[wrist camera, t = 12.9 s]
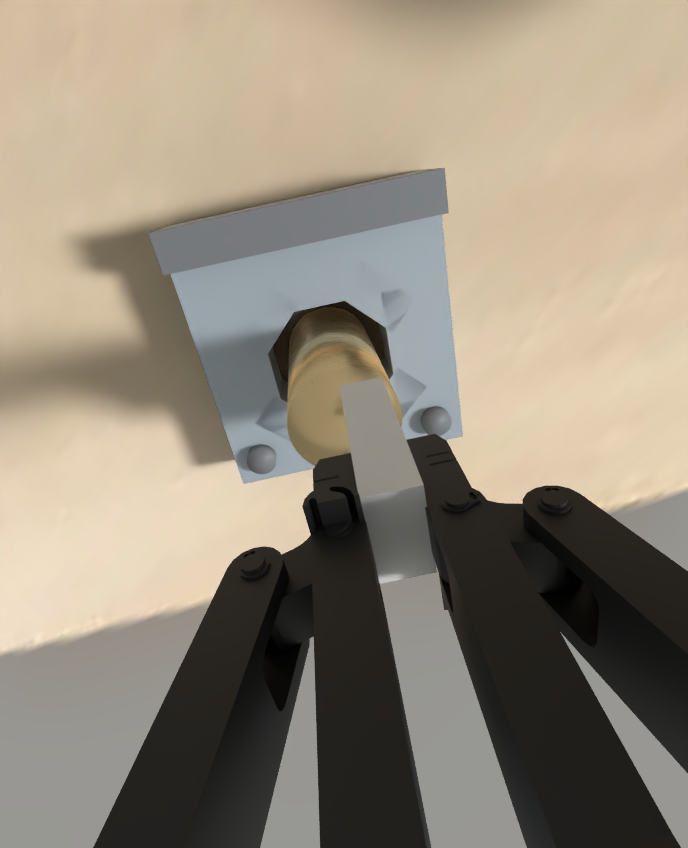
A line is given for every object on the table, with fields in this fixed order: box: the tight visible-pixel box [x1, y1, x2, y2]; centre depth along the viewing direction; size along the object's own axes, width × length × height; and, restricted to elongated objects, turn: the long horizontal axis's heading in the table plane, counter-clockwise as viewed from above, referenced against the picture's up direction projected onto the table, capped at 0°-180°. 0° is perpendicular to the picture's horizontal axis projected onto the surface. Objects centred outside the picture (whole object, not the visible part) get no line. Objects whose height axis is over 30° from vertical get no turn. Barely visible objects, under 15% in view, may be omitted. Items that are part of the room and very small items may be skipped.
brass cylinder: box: [287, 307, 402, 466], centre depth 24 cm, size 5×5×10 cm
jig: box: [148, 168, 463, 484], centre depth 26 cm, size 14×13×4 cm
